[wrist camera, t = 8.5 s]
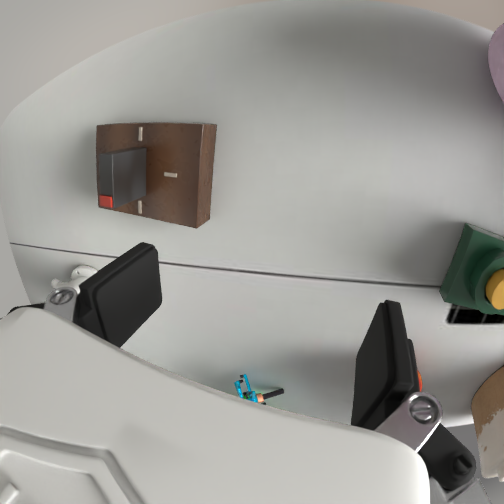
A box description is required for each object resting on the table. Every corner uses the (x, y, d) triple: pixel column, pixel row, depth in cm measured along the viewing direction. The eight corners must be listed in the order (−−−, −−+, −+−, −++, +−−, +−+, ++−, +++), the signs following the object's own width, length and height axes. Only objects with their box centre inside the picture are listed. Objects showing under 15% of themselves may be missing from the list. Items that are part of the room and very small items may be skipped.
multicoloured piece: (228, 370, 35) (245, 422, 30) (276, 357, 37) (297, 406, 31) (231, 396, 43) (245, 436, 38) (270, 385, 45) (285, 424, 40)
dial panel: (114, 200, 32) (97, 207, 30) (113, 123, 28) (95, 125, 25) (209, 219, 29) (196, 229, 27) (217, 124, 25) (202, 124, 22)
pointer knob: (133, 147, 25) (96, 154, 20) (146, 147, 25) (110, 154, 20) (133, 193, 27) (99, 207, 23) (146, 195, 27) (112, 210, 22)
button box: (438, 290, 25) (448, 312, 21) (465, 222, 21) (481, 236, 18) (498, 305, 22) (510, 325, 19) (524, 246, 19) (541, 261, 15)
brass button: (479, 297, 20) (485, 306, 18) (494, 264, 18) (502, 273, 17) (501, 302, 19) (508, 312, 18) (516, 272, 17) (523, 280, 16)
